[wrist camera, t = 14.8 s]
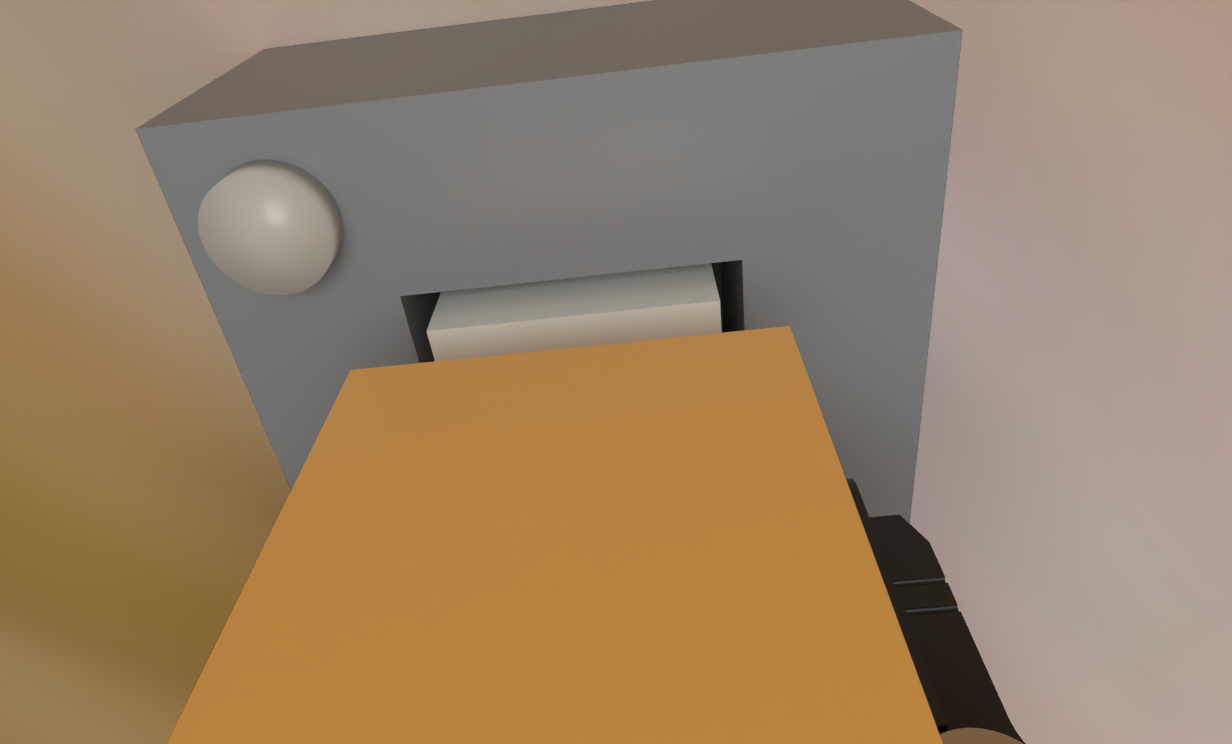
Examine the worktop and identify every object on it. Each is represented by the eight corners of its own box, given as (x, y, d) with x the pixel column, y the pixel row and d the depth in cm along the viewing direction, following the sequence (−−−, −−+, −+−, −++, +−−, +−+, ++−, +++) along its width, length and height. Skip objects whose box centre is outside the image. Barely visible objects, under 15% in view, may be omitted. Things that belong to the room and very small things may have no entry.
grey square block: (410, 494, 21) (355, 680, 17) (264, 49, 15) (113, 143, 11) (840, 454, 21) (908, 636, 16) (861, -26, 15) (980, 39, 10)
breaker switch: (502, 439, 17) (485, 543, 15) (457, 247, 15) (426, 331, 12) (713, 419, 17) (731, 521, 15) (701, 220, 15) (720, 300, 12)
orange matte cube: (447, 653, 14) (352, 1133, 9) (349, 369, 11) (114, 853, 6) (789, 626, 13) (898, 1108, 8) (789, 326, 10) (962, 795, 5)
